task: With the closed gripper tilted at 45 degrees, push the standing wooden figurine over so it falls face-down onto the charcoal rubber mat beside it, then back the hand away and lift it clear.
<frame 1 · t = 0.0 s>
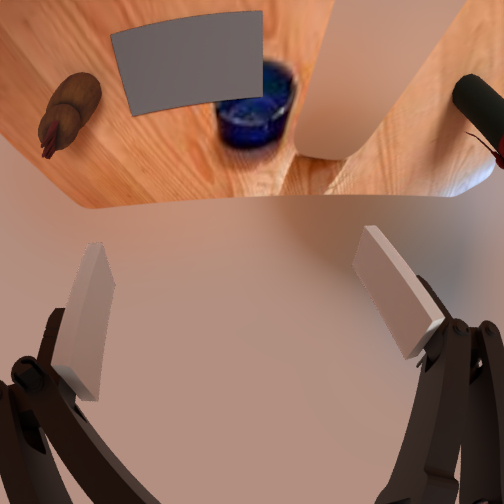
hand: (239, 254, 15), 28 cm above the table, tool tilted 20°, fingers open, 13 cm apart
wooden figurine: (83, 87, 29), on the table
charcoal rubber mat: (190, 61, 30), on the table
wine bottle: (464, 96, 36), on the table
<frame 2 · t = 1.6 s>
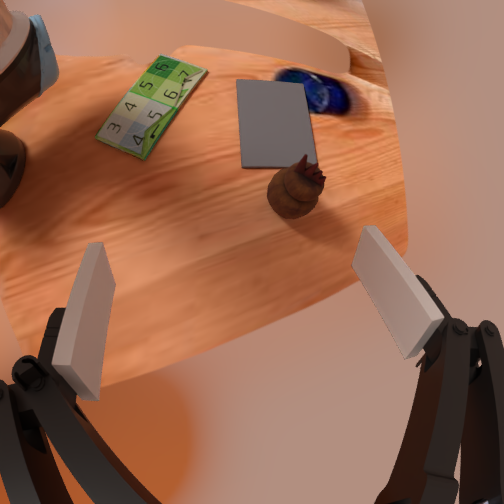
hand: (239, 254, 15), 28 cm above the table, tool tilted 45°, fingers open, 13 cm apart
wooden figurine: (283, 202, 45), on the table
charcoal rubber mat: (275, 121, 46), on the table
green number grid board: (152, 103, 44), on the table
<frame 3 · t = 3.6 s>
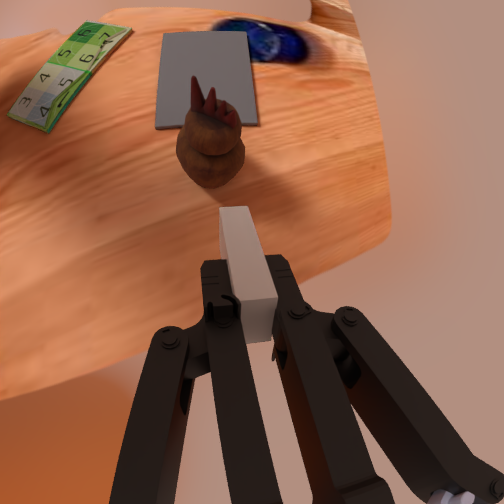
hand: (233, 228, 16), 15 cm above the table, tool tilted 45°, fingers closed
wooden figurine: (208, 168, 33), on the table
charcoal rubber mat: (205, 73, 34), on the table
green number grid board: (69, 71, 31), on the table
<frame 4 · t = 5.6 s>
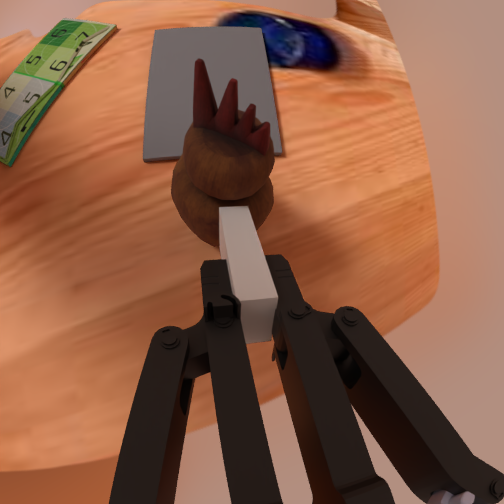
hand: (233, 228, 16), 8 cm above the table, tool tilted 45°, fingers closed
wooden figurine: (217, 218, 24), on the table
charcoal rubber mat: (209, 82, 26), on the table
green number grid board: (39, 83, 24), on the table
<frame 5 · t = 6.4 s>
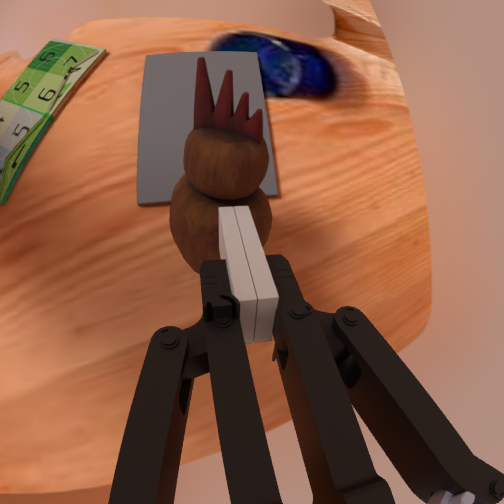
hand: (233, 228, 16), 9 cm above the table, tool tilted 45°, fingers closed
wooden figurine: (215, 260, 24), point 1 cm above the table, touching gripper
charcoal rubber mat: (203, 115, 26), on the table
green number grid board: (28, 112, 24), on the table
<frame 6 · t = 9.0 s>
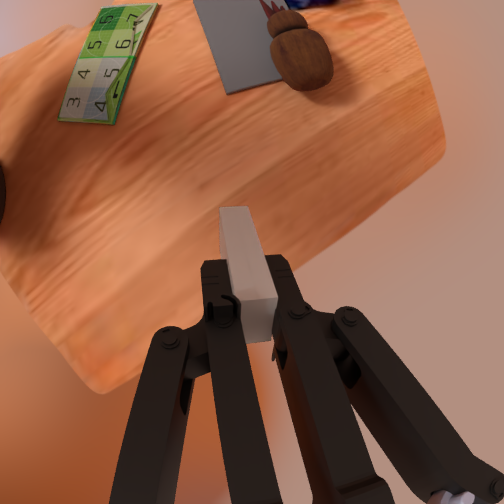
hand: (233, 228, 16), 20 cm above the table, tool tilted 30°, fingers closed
wooden figurine: (314, 86, 30), point 4 cm above the table, touching charcoal rubber mat
charcoal rubber mat: (252, 31, 32), on the table
green number grid board: (108, 60, 33), on the table
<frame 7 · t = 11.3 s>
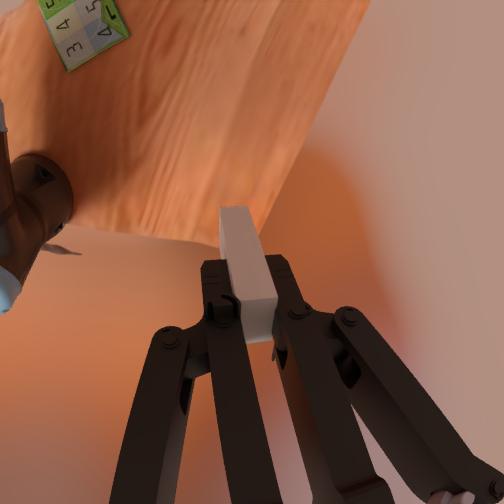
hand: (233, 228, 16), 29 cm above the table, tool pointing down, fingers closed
green number grid board: (76, 2, 24), on the table
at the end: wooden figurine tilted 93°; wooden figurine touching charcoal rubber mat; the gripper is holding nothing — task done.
